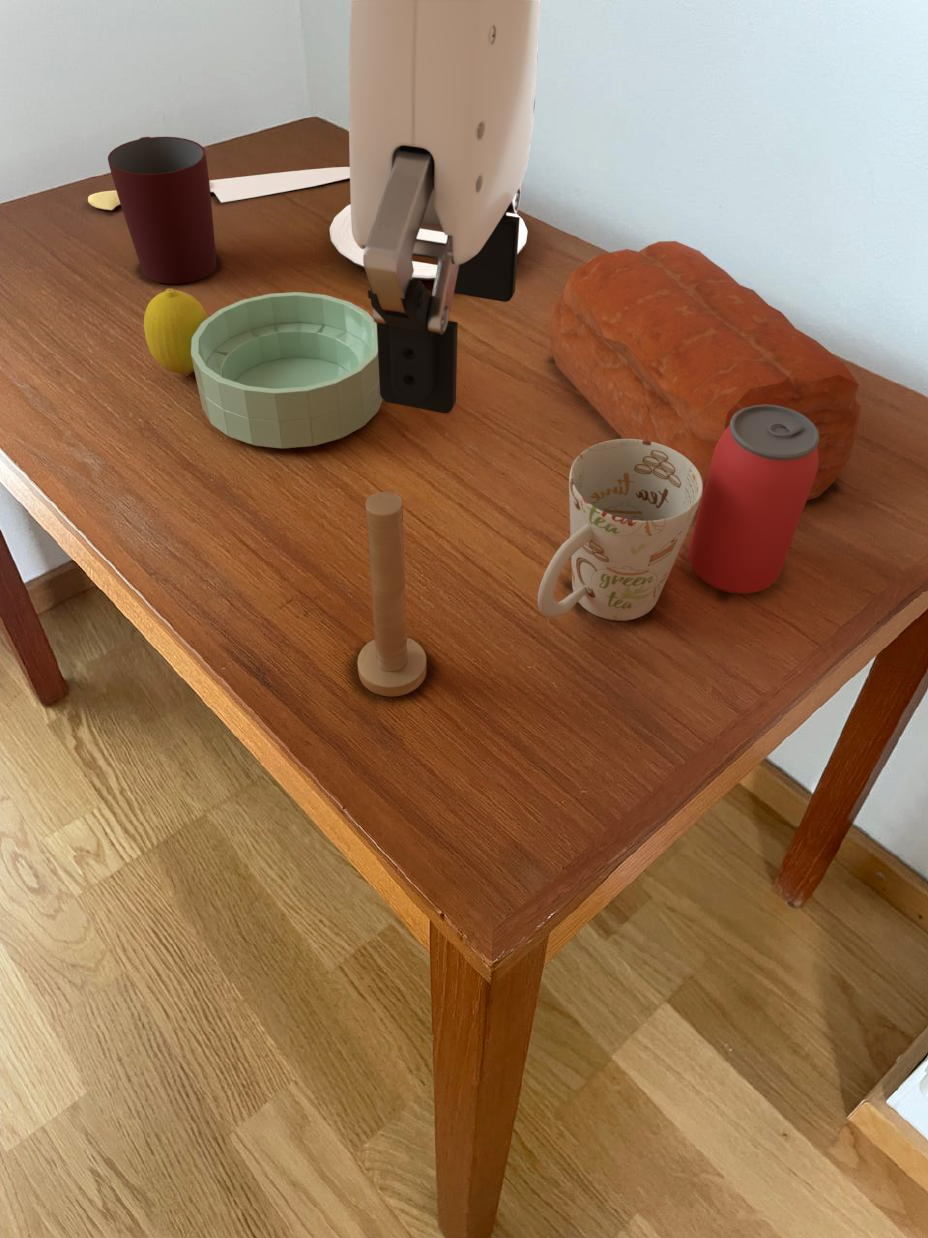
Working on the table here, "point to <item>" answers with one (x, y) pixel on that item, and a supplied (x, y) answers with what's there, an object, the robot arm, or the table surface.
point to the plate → (422, 271)
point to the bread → (694, 356)
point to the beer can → (754, 498)
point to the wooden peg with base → (389, 605)
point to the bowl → (288, 369)
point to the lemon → (173, 329)
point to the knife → (248, 185)
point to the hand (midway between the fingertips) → (452, 345)
